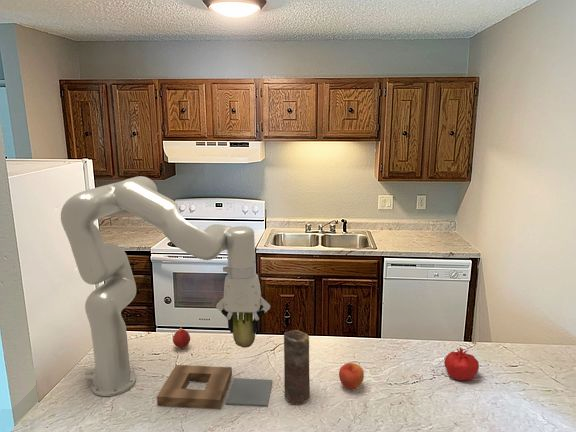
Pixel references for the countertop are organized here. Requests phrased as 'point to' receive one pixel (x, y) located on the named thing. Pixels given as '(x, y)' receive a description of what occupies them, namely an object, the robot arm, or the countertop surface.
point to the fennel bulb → (243, 329)
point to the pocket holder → (191, 398)
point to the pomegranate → (461, 365)
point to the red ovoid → (181, 338)
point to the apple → (351, 375)
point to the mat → (249, 392)
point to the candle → (296, 367)
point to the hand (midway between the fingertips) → (244, 330)
